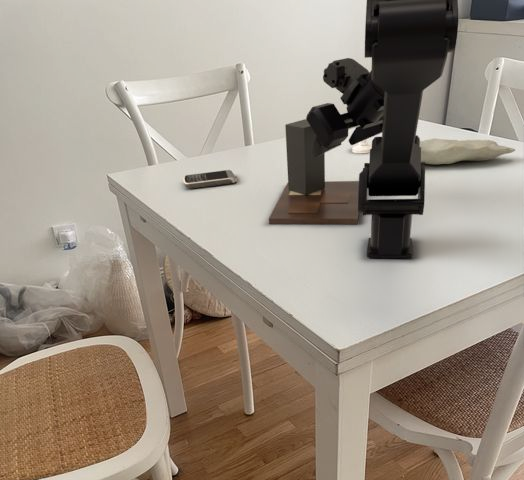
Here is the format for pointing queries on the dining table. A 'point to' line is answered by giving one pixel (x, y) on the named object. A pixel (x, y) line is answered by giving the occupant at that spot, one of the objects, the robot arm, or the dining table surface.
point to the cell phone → (209, 179)
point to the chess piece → (362, 147)
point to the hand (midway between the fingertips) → (332, 148)
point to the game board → (319, 205)
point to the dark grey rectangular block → (303, 159)
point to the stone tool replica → (460, 150)
